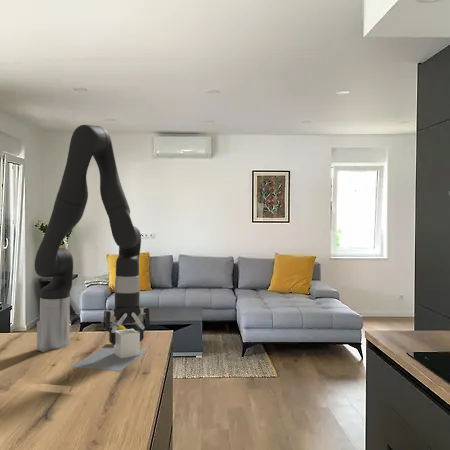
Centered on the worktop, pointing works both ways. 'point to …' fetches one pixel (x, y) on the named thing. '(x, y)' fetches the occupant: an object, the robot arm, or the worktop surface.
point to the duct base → (107, 360)
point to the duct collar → (127, 343)
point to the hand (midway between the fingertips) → (126, 342)
